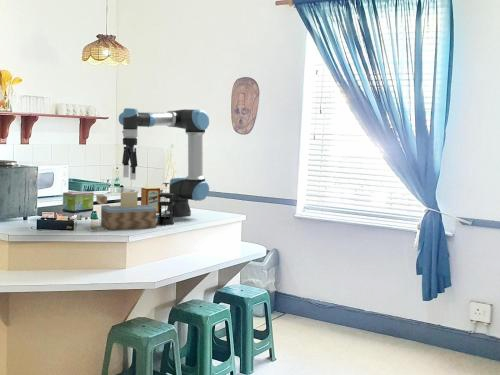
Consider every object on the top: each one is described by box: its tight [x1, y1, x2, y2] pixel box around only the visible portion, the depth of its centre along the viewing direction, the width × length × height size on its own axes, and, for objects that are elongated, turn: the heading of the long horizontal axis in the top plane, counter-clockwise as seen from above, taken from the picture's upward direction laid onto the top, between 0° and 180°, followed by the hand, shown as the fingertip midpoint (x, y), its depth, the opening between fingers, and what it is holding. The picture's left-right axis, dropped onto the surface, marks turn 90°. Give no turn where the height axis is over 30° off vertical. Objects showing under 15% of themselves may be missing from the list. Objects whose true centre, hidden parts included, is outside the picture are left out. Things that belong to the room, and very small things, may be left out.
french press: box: [156, 182, 176, 226], centre depth 347 cm, size 12×9×23 cm
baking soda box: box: [140, 186, 161, 214], centre depth 384 cm, size 10×6×16 cm
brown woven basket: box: [100, 204, 157, 231], centre depth 334 cm, size 26×17×10 cm, turn 119°
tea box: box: [61, 190, 95, 220], centre depth 357 cm, size 15×10×15 cm, turn 151°
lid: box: [100, 191, 156, 213], centre depth 332 cm, size 26×14×11 cm, turn 119°
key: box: [95, 194, 108, 205], centre depth 342 cm, size 4×9×4 cm, turn 29°
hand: (129, 178), depth 331 cm, fingers open, 11 cm apart
